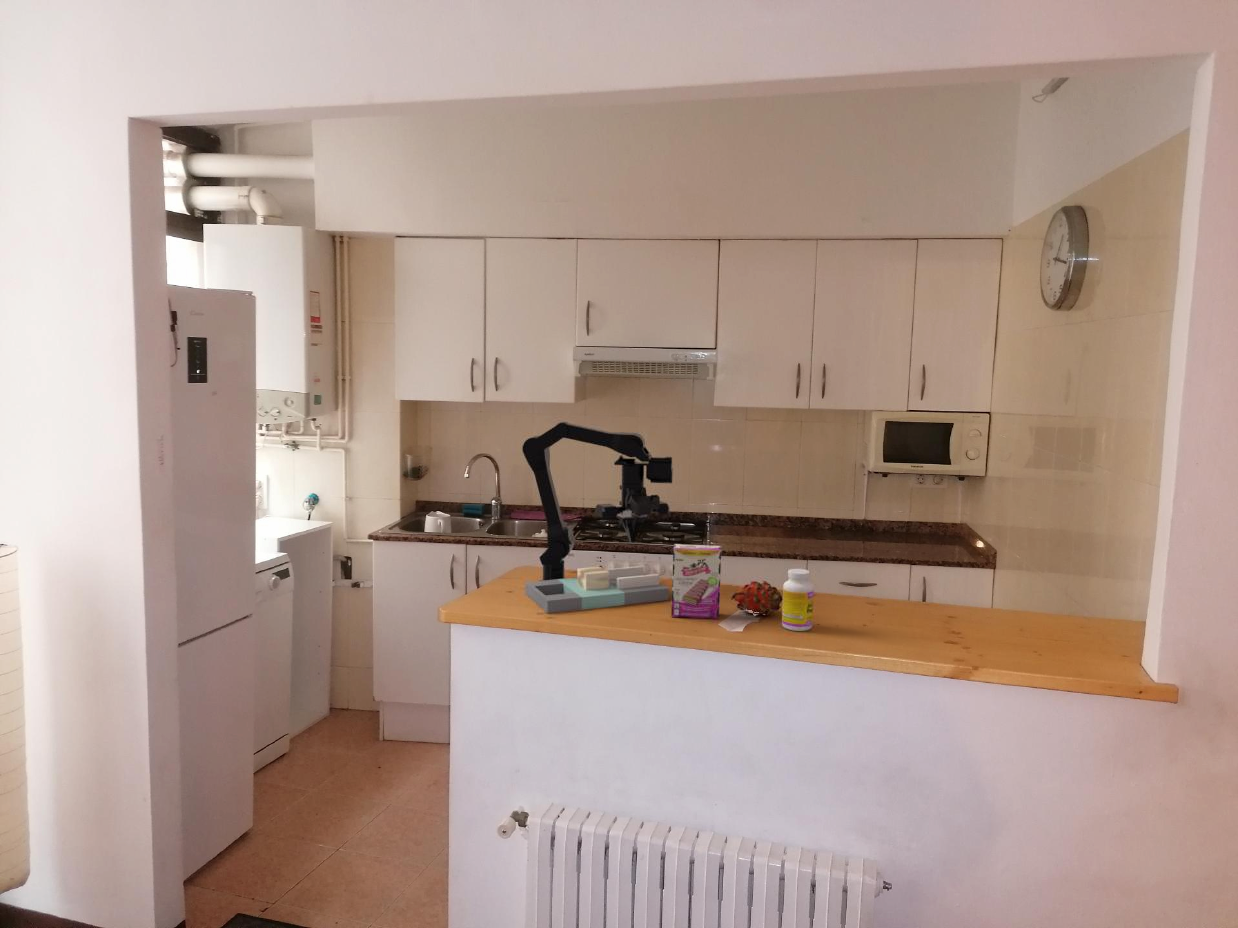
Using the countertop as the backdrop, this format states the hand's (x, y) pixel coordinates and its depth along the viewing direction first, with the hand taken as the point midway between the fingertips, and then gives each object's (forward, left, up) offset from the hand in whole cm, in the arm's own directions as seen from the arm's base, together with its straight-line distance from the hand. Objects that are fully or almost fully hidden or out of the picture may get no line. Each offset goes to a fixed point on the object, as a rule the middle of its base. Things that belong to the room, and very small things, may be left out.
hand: (632, 542), depth 224 cm
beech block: (+6, -13, -9) cm, 17 cm away
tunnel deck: (+5, -12, -12) cm, 18 cm away
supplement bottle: (+44, +21, -12) cm, 50 cm away
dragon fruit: (+32, +18, -12) cm, 39 cm away
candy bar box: (+28, +4, -12) cm, 31 cm away
